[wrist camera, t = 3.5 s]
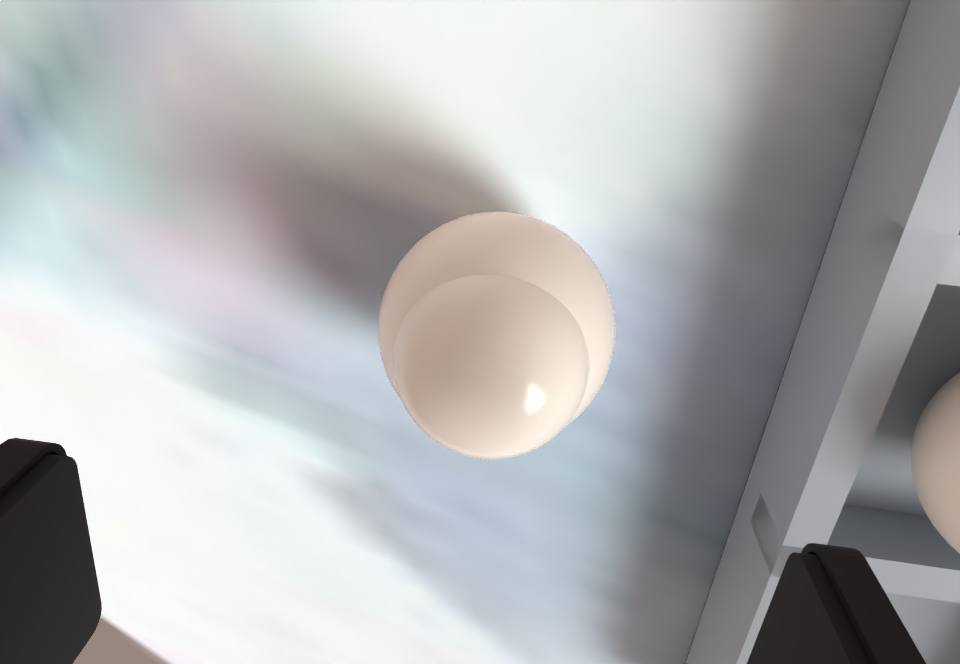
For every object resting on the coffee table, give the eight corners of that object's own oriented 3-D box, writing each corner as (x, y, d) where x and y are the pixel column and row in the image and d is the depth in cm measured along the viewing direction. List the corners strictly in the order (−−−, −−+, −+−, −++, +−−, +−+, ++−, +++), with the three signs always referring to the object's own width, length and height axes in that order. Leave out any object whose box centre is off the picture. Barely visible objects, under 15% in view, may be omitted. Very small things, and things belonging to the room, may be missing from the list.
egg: (409, 172, 17) (342, 257, 12) (625, 199, 17) (659, 299, 11) (397, 361, 19) (338, 505, 14) (587, 387, 19) (601, 543, 14)
